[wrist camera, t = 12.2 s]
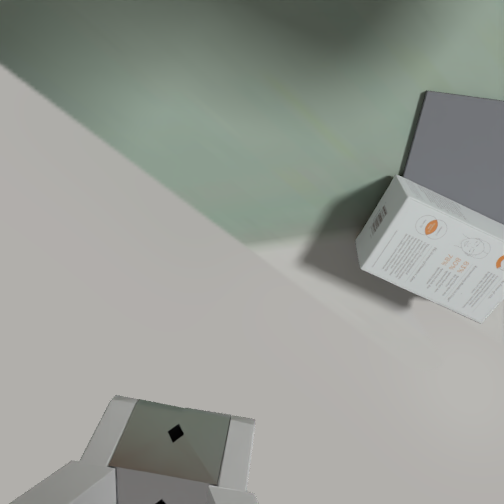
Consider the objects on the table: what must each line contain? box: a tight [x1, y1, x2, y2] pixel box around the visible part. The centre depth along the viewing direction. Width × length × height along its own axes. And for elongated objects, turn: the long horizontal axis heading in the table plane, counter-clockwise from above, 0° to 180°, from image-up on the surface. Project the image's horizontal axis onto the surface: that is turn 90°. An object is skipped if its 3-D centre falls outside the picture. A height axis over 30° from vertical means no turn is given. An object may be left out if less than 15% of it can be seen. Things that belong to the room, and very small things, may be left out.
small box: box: [355, 175, 504, 324], centre depth 43 cm, size 8×6×13 cm
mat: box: [402, 91, 504, 225], centre depth 44 cm, size 18×13×1 cm
